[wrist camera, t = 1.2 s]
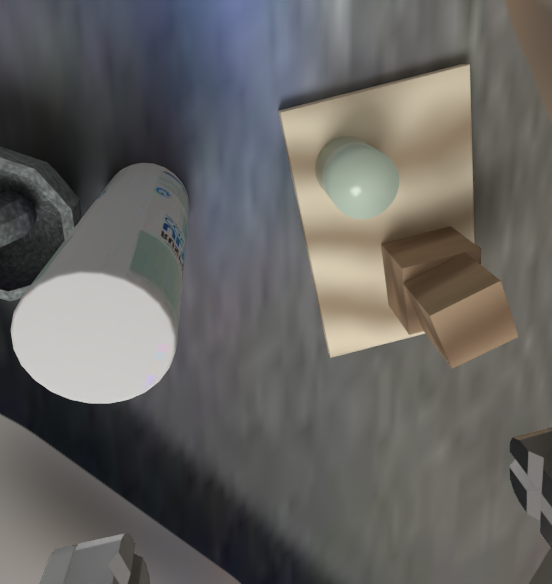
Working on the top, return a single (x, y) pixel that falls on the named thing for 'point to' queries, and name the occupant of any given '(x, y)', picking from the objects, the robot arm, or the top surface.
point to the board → (405, 207)
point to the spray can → (110, 293)
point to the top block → (461, 309)
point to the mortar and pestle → (31, 219)
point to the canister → (357, 177)
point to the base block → (419, 266)
